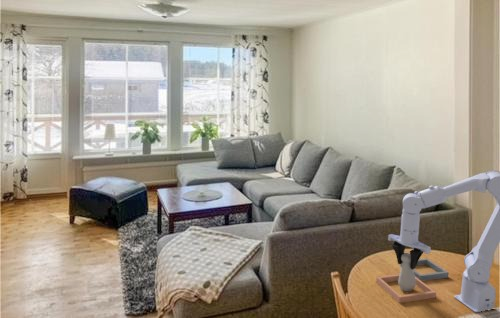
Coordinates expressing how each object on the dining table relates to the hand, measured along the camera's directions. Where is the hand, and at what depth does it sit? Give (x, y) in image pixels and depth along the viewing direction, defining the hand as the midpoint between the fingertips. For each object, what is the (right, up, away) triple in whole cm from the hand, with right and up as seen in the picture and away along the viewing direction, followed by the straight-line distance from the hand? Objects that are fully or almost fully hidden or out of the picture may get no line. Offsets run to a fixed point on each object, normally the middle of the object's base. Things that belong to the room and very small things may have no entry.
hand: (406, 265), depth 131 cm
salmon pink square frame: (0, -9, +2) cm, 9 cm away
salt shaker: (+1, -9, +2) cm, 9 cm away
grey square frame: (+12, -6, +14) cm, 20 cm away
